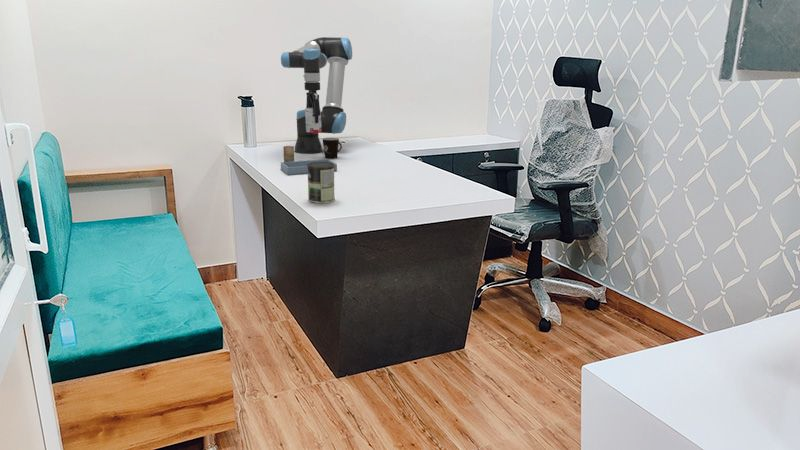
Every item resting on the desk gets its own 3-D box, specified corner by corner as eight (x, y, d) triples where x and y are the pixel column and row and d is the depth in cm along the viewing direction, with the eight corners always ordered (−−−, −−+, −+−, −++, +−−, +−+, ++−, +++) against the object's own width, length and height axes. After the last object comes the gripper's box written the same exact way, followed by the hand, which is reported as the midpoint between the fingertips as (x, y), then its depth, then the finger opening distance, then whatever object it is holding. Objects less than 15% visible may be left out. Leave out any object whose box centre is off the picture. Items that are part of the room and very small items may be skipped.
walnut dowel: (283, 164, 297) (282, 146, 294) (293, 163, 299) (292, 145, 296) (285, 166, 293) (284, 147, 290) (295, 165, 295) (294, 147, 292)
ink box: (322, 133, 294) (321, 109, 290) (312, 134, 291) (312, 109, 288) (314, 131, 301) (313, 107, 297) (305, 131, 298) (304, 107, 295)
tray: (280, 169, 284) (280, 162, 283) (328, 166, 294) (328, 159, 292) (287, 175, 272) (287, 167, 271) (336, 171, 282) (336, 164, 281)
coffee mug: (320, 156, 317) (320, 138, 314) (336, 155, 320) (336, 137, 317) (327, 160, 307) (326, 141, 304) (343, 159, 310) (342, 140, 307)
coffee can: (307, 203, 226) (306, 167, 222) (309, 196, 236) (308, 161, 231) (334, 203, 227) (334, 167, 222) (335, 196, 236) (334, 161, 232)
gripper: (298, 80, 297) (300, 125, 303) (310, 83, 278) (312, 131, 284) (313, 80, 300) (314, 125, 306) (326, 83, 281) (327, 131, 287)
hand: (313, 128), depth 295 cm, fingers closed on ink box, 9 cm apart
